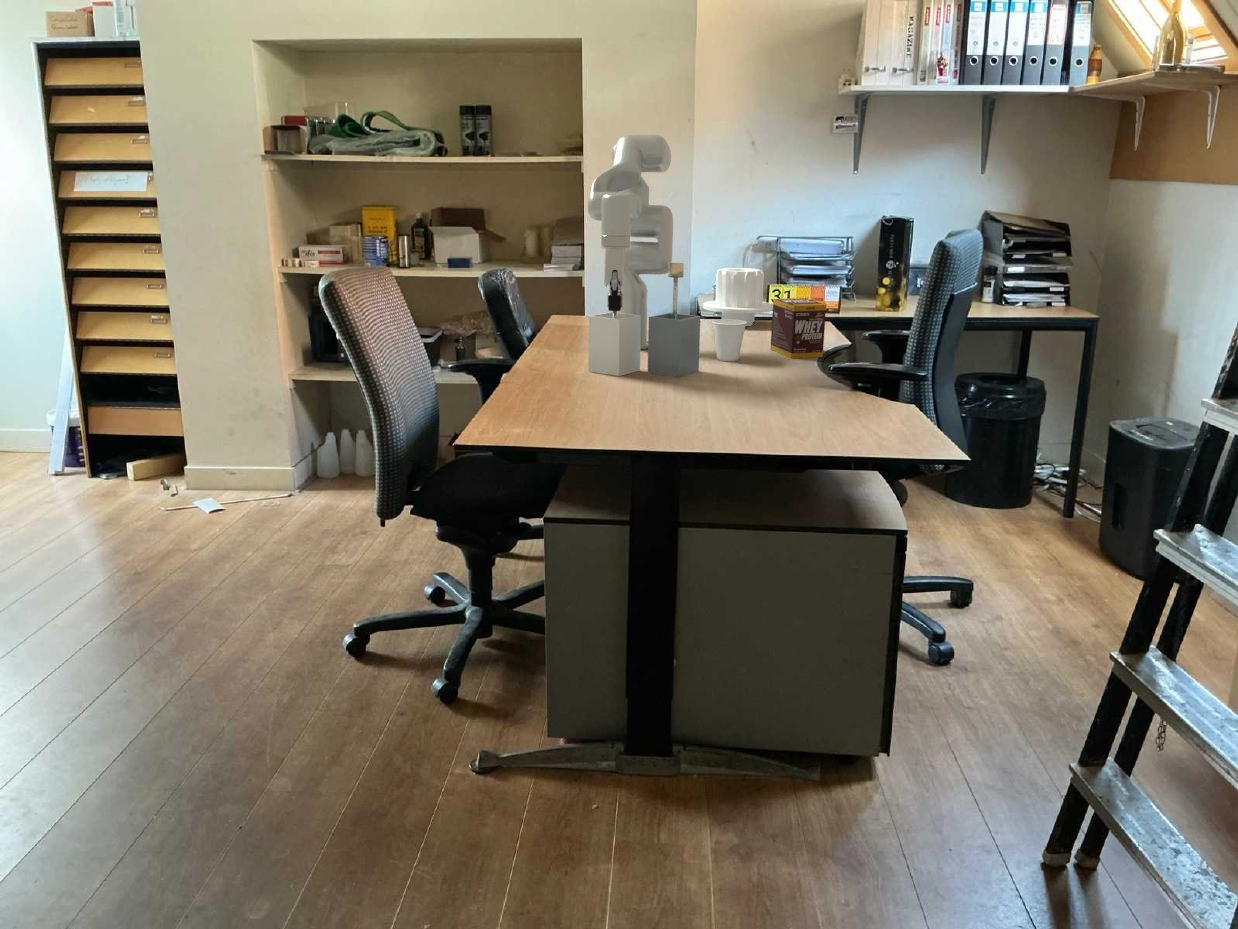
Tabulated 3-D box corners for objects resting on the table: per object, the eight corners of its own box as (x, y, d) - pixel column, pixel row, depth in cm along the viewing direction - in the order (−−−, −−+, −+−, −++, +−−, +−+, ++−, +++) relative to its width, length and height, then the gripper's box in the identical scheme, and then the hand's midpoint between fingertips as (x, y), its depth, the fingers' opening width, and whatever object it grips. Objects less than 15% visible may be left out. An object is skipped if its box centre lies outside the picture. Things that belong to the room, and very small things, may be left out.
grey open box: (647, 372, 278) (648, 316, 274) (667, 366, 286) (669, 312, 282) (679, 377, 273) (680, 320, 269) (698, 371, 281) (700, 316, 276)
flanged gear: (695, 327, 355) (697, 271, 350) (710, 317, 378) (712, 265, 373) (767, 331, 348) (770, 274, 343) (778, 320, 371) (781, 267, 366)
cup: (743, 363, 292) (745, 324, 289) (708, 361, 294) (710, 323, 291) (746, 357, 301) (748, 319, 298) (712, 355, 303) (714, 318, 300)
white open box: (588, 371, 279) (588, 316, 274) (610, 365, 286) (610, 311, 282) (618, 376, 273) (619, 319, 269) (639, 370, 281) (640, 315, 277)
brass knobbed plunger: (653, 336, 276) (655, 263, 270) (669, 333, 282) (671, 261, 277) (678, 340, 272) (680, 265, 266) (694, 336, 278) (697, 263, 272)
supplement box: (791, 358, 300) (794, 305, 296) (769, 349, 315) (772, 298, 310) (823, 357, 303) (827, 304, 299) (801, 348, 317) (804, 297, 313)
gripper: (602, 239, 278) (602, 303, 283) (600, 244, 262) (599, 312, 267) (630, 240, 278) (629, 304, 283) (629, 245, 262) (628, 313, 267)
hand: (614, 308), depth 275 cm, fingers open, 9 cm apart
